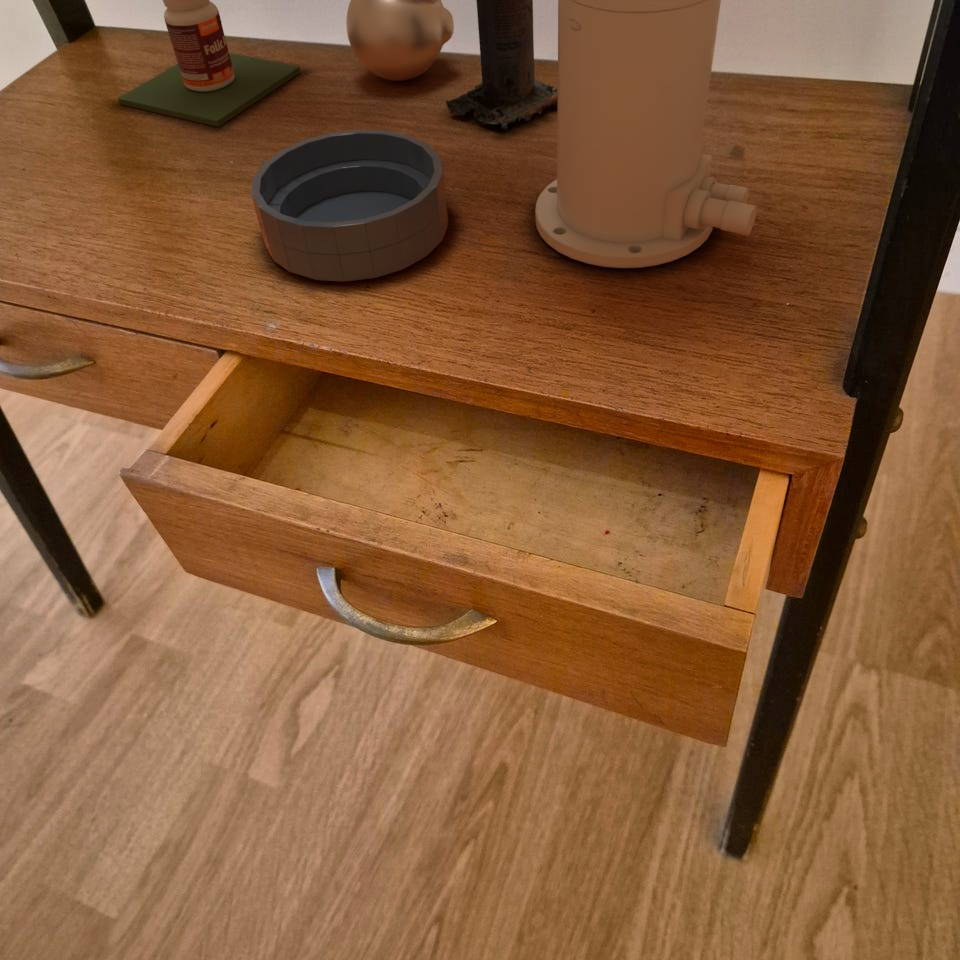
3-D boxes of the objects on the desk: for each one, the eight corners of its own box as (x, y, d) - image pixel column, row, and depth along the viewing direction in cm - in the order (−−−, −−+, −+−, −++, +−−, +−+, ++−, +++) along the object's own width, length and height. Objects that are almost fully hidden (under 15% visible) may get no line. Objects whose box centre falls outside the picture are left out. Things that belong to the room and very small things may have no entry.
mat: (301, 72, 83) (299, 66, 83) (218, 127, 77) (216, 120, 76) (205, 54, 88) (204, 48, 87) (119, 104, 81) (117, 98, 80)
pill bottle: (224, 94, 80) (197, -6, 74) (176, 92, 81) (145, -7, 74) (243, 71, 83) (219, -26, 77) (197, 70, 84) (169, -26, 77)
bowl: (480, 206, 65) (476, 149, 62) (383, 304, 58) (373, 244, 54) (336, 172, 70) (325, 117, 67) (229, 257, 62) (211, 200, 59)
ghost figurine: (436, 101, 77) (424, -22, 70) (339, 93, 80) (318, -28, 72) (469, 60, 83) (461, -59, 76) (378, 52, 85) (362, -63, 78)
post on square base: (511, 139, 72) (506, -21, 63) (442, 115, 76) (428, -39, 67) (577, 98, 76) (580, -57, 67) (508, 77, 80) (503, -72, 71)
